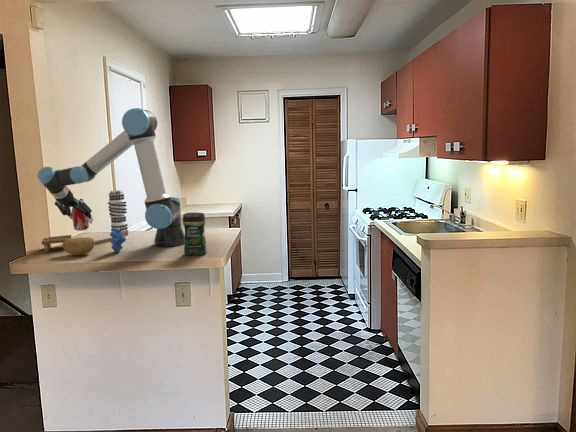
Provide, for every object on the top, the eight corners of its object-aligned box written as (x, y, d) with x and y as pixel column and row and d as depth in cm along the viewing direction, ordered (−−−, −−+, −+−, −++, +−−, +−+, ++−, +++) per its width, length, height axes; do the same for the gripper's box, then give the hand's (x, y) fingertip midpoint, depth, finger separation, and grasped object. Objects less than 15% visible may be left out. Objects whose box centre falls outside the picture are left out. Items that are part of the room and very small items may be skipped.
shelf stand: (71, 250, 222) (70, 239, 221) (42, 253, 218) (41, 242, 217) (72, 245, 233) (71, 234, 232) (45, 247, 229) (44, 237, 228)
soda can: (83, 231, 231) (80, 206, 229) (70, 231, 232) (67, 207, 230) (92, 228, 238) (89, 204, 236) (79, 228, 239) (77, 205, 237)
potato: (69, 252, 217) (68, 235, 216) (99, 252, 216) (97, 235, 215) (58, 257, 207) (56, 240, 206) (89, 257, 207) (87, 239, 205)
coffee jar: (182, 256, 204) (179, 214, 201) (188, 251, 212) (185, 211, 209) (204, 256, 203) (201, 213, 200) (209, 251, 211) (206, 211, 208)
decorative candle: (122, 240, 243) (118, 191, 239) (107, 239, 245) (103, 191, 241) (133, 236, 251) (129, 190, 247) (117, 235, 254) (113, 190, 250)
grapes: (123, 255, 209) (121, 228, 207) (108, 255, 209) (105, 229, 207) (130, 249, 220) (128, 224, 219) (115, 249, 220) (113, 224, 218)
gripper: (39, 200, 218) (63, 228, 237) (79, 199, 216) (101, 227, 234) (44, 188, 223) (68, 216, 241) (84, 186, 220) (105, 214, 239)
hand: (84, 221), depth 238 cm, fingers closed on soda can, 7 cm apart
